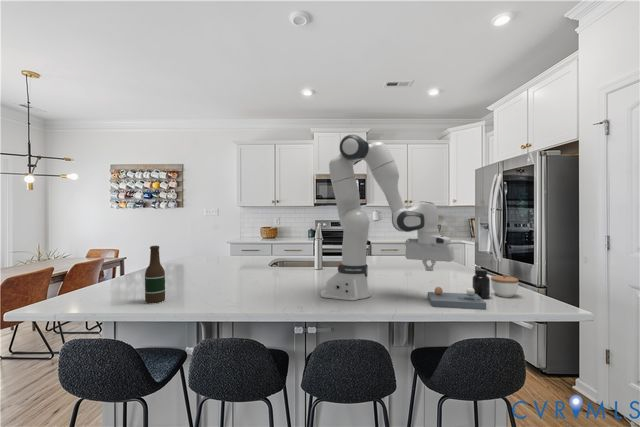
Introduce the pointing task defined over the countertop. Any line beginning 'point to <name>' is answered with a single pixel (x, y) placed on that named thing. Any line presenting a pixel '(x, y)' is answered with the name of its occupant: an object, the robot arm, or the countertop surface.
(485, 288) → the supplement bottle
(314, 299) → the countertop surface
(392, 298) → the countertop surface
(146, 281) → the beer bottle
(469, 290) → the cream ball
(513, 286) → the lidded jar
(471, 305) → the plate
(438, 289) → the terracotta ball
